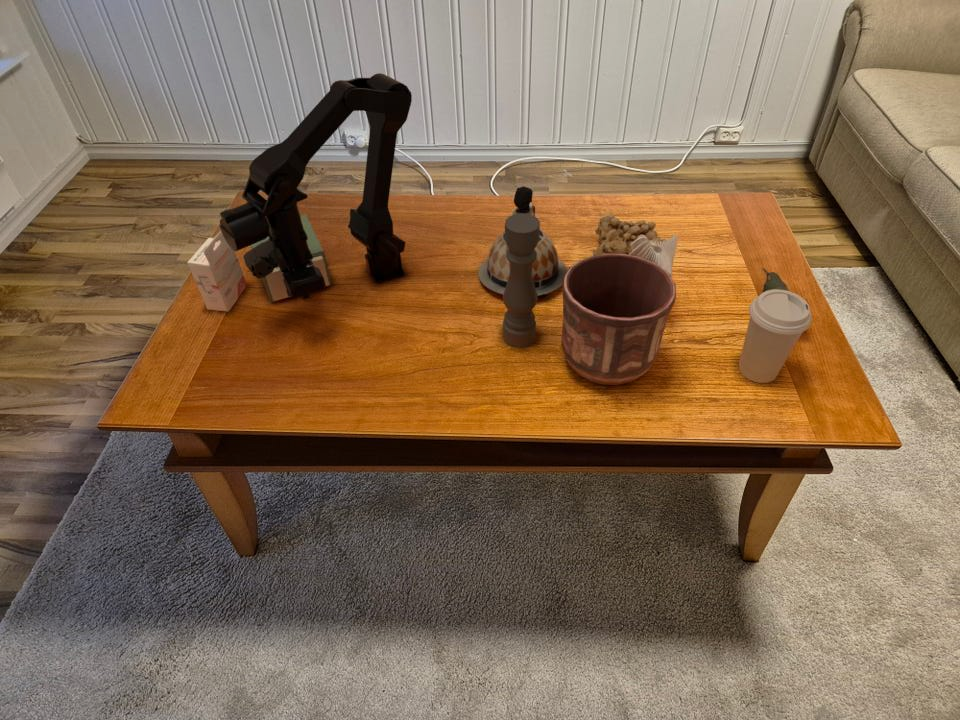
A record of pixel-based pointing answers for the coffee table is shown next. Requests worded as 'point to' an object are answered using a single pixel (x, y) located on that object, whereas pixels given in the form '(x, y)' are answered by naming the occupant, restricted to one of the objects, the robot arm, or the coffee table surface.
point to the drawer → (279, 284)
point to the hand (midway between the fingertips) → (306, 297)
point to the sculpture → (774, 282)
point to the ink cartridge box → (217, 274)
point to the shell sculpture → (656, 251)
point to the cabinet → (312, 245)
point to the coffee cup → (772, 333)
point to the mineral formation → (622, 235)
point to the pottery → (614, 316)
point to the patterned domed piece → (544, 268)
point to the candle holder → (520, 280)
